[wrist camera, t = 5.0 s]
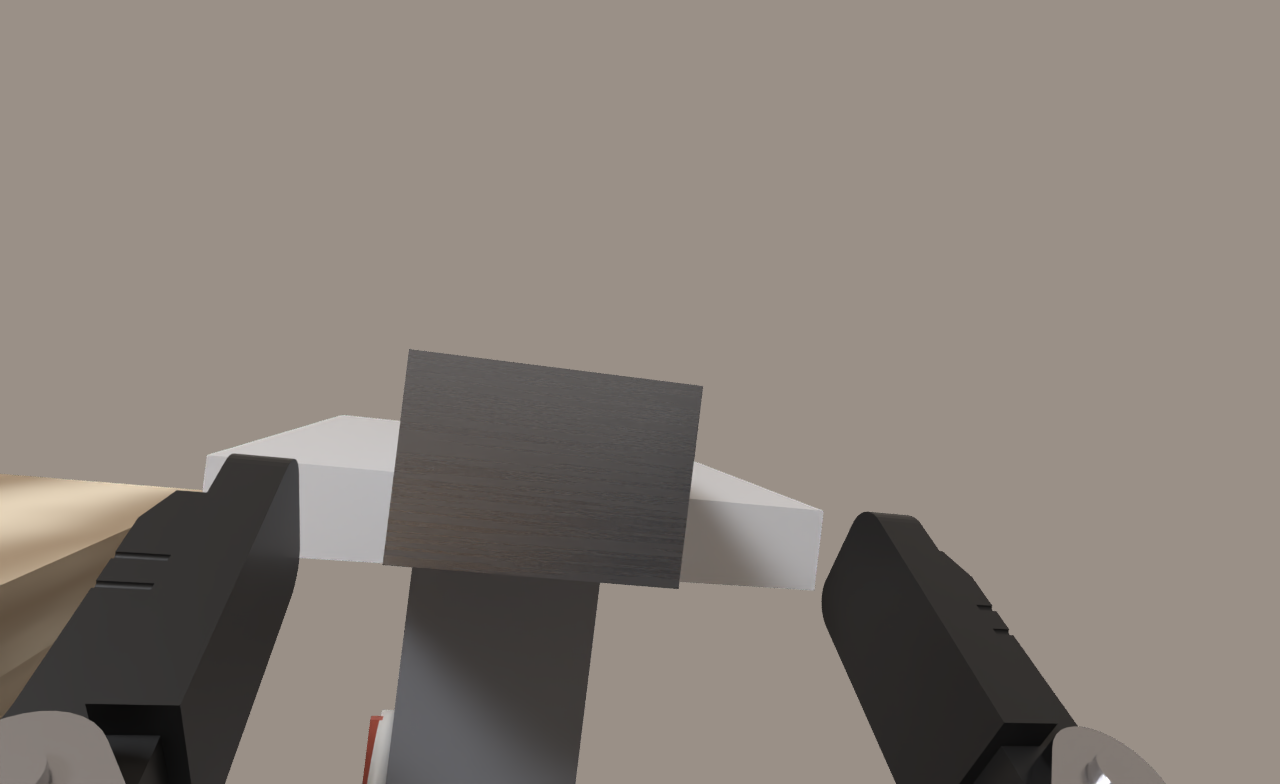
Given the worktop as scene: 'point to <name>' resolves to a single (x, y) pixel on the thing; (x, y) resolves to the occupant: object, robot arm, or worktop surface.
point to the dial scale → (505, 611)
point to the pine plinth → (55, 559)
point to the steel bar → (541, 472)
